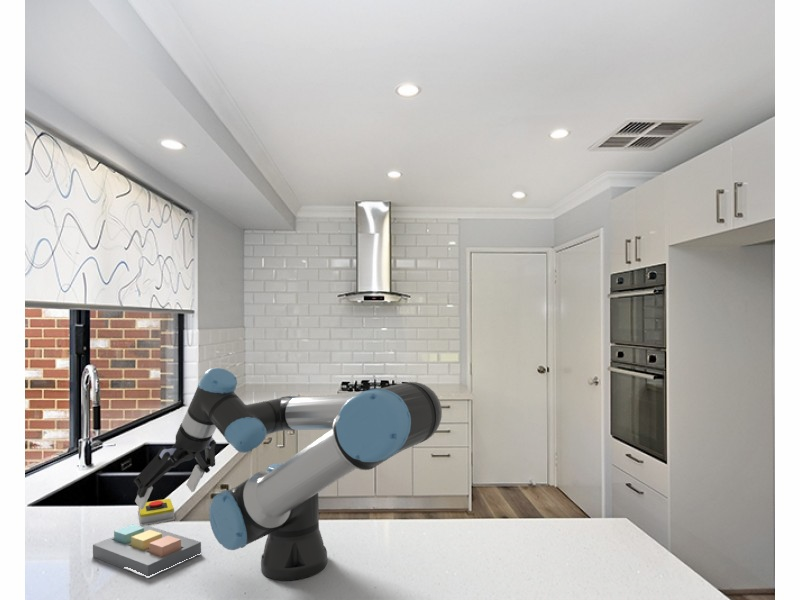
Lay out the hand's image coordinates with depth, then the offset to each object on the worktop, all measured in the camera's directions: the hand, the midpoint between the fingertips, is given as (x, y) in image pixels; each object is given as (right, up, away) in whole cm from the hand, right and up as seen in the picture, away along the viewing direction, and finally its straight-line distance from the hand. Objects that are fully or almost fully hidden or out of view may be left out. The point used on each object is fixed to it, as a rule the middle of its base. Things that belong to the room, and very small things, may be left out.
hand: (165, 496), depth 129 cm
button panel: (-6, -16, +3) cm, 17 cm away
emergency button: (-16, -18, +31) cm, 39 cm away
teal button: (-12, -14, +7) cm, 20 cm away
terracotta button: (0, -13, -1) cm, 13 cm away
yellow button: (-6, -14, +3) cm, 15 cm away
